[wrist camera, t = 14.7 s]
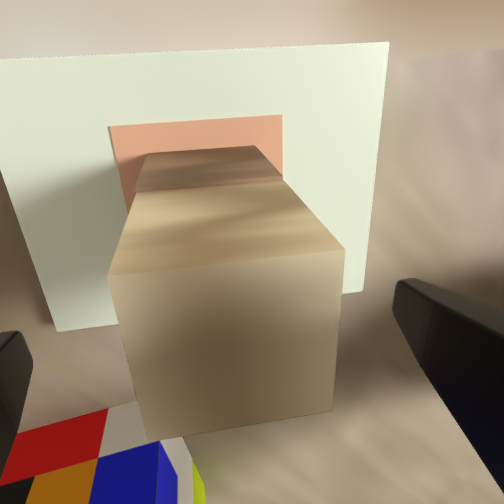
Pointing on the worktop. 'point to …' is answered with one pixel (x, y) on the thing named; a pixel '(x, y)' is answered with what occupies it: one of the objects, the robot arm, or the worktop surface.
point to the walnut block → (205, 168)
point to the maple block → (227, 307)
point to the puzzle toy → (99, 464)
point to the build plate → (180, 146)
